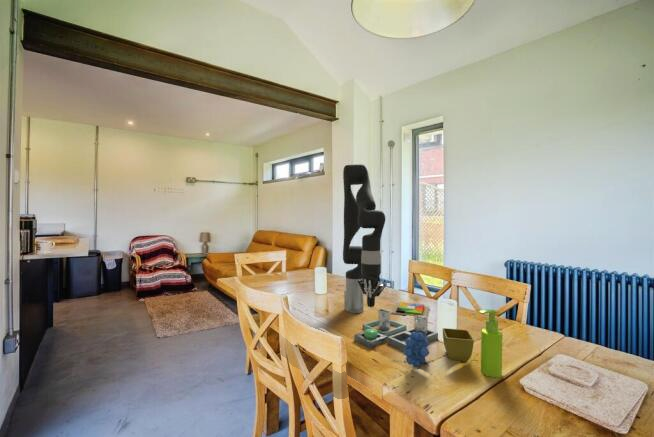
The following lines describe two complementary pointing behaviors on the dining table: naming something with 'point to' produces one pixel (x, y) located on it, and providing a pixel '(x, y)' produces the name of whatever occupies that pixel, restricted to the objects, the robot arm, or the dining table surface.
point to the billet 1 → (384, 320)
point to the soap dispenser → (491, 346)
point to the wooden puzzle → (410, 309)
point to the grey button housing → (370, 343)
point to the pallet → (400, 338)
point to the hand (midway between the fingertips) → (370, 306)
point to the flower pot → (458, 344)
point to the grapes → (416, 349)
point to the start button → (370, 334)
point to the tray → (399, 328)
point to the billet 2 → (421, 324)
